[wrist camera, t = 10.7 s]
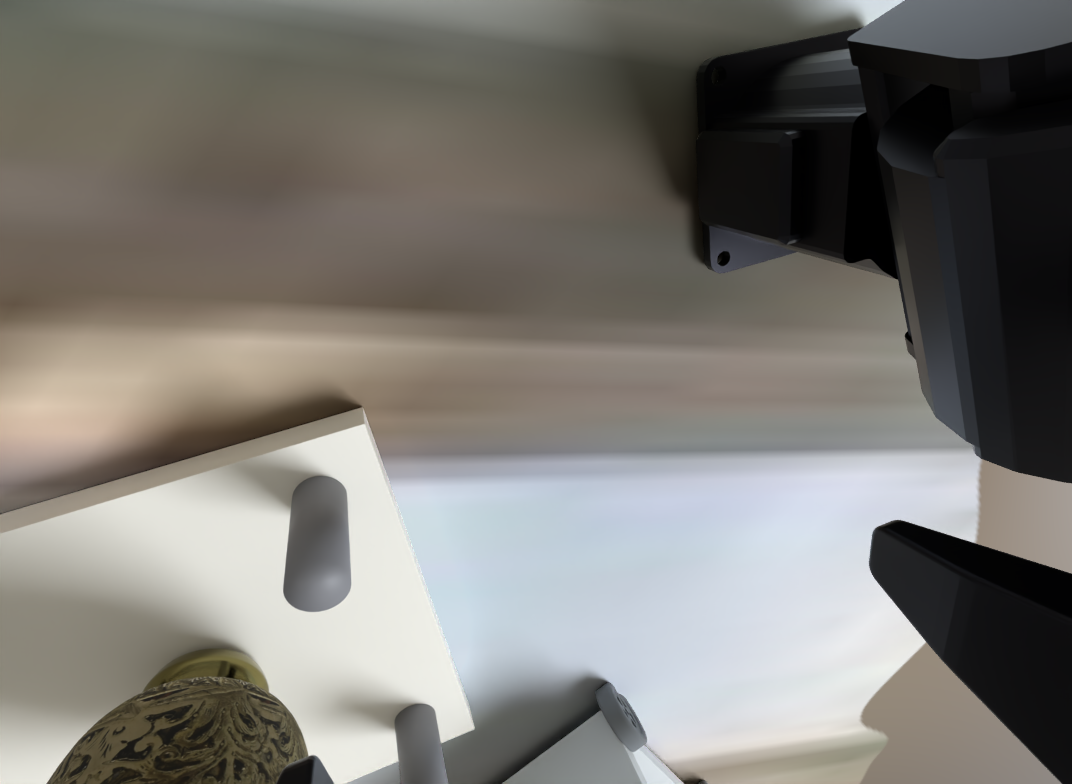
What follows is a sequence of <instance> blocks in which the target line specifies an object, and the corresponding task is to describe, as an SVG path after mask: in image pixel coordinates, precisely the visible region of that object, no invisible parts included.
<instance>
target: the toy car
mask: <svg viewBox="0 0 1072 784" xmlns="http://www.w3.org/2000/svg"><path fill="white" fill-rule="evenodd" d="M596 699H597V702H598V704H599V707H600V709H601V710H600V711H599V712H598V713H596V714H595V715H594V716H592V717H591V718H589V719H588V720H587V721H585V722H584V723H583V724H581V725H580V726H579V727H577V728H576V729H575V730H573V731H572V732H571V733H569V734H568V735H567V736H565V737H564V738H563V739H561V740H560V741H559V742H557V743H556V744H555V745H553V746H552V747H550V748H549V749H548V750H546V751H545V752H544V753H542V754H541V755H540V756H538V757H537V758H536V759H534V760H533V761H532V762H530V763H529V764H528V765H526V766H525V767H524V768H522V769H521V770H520V771H518V772H517V773H516V774H514V775H513V776H511V777H510V778H509V779H507V780H506V781H505V782H503V783H502V784H684V783H683V782H682V781H681V780H680V779H679V778H678V777H677V776H676V775H675V774H674V773H673V772H672V771H671V770H670V769H669V768H668V767H667V766H666V765H665V764H663V763H662V762H661V761H660V760H659V759H658V758H657V757H656V756H655V755H654V754H653V753H652V752H651V751H650V750H649V749H648V748H647V747H646V746H645V744H646V742H647V737H646V734H645V731H644V729H643V727H642V725H641V723H640V721H639V719H638V717H637V716H636V714H635V712H634V711H633V709H632V707H631V706H630V704H629V703H628V701H627V700H626V698H625V697H624V696H622V695H621V694H618V693H617V692H616V690H615V688H614V686H613V685H612V684H611V683H609V682H608V683H606V684H604V685H603V686H602V687H600V688H599V689H598V690H597V691H596ZM698 784H707V782H706V781H705V780H702V781H701V782H699V783H698Z"/></svg>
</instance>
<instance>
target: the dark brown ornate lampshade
mask: <svg viewBox="0 0 1072 784" xmlns="http://www.w3.org/2000/svg"><path fill="white" fill-rule="evenodd" d="M305 757H308V751H307V747H306V744H305V740H304V737H303V734H302V732H301V730H300V728H299V726H298V724H297V722H296V720H295V718H294V717H293V715H292V714H291V712H290V711H289V710H288V709H287V708H286V706H285V705H284V704H283V703H282V702H281V701H280V700H279V699H278V698H277V697H275V696H274V695H272V694H271V693H269V686H268V682H267V679H266V677H265V675H264V673H263V671H262V669H261V667H260V666H259V665H258V664H257V663H256V662H255V661H254V660H253V659H252V658H250V657H249V656H247V655H245V654H243V653H241V652H238V651H235V650H230V649H224V648H208V649H201V650H196V651H193V652H189V653H186V654H184V655H182V656H179V657H177V658H176V659H174V660H172V661H171V662H169V663H168V664H166V665H165V666H164V667H163V668H162V669H161V670H160V671H159V672H158V673H157V674H156V675H155V676H154V677H153V678H152V679H151V680H150V681H149V682H148V684H147V685H146V686H145V688H144V690H143V691H142V693H140V694H138V695H136V696H134V697H132V698H130V699H128V700H127V701H125V702H123V703H122V704H120V705H119V706H118V707H116V708H115V709H113V710H112V711H110V712H109V713H108V714H106V715H105V716H104V717H102V718H101V719H100V720H99V721H98V722H97V723H96V724H94V725H93V726H92V727H91V728H90V729H89V730H88V731H87V732H86V733H85V734H84V735H83V736H82V737H81V738H80V739H79V740H78V741H77V743H76V744H75V745H74V747H73V748H72V749H71V750H70V752H69V753H68V754H67V755H66V757H65V758H64V759H63V761H62V762H61V763H60V765H59V766H58V767H57V769H56V770H55V772H54V773H53V775H52V776H51V778H50V779H49V780H48V782H47V783H46V784H276V782H277V780H278V778H279V775H280V773H281V772H282V770H283V769H284V768H285V767H286V766H287V765H289V764H290V763H293V762H295V761H298V760H300V759H303V758H305Z"/></svg>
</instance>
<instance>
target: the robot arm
mask: <svg viewBox="0 0 1072 784" xmlns="http://www.w3.org/2000/svg"><path fill="white" fill-rule="evenodd" d="M714 69H716V70H717V71H718V75H719V77H718V81H717V83H716V84H715V85H714V84H713V83H712V80H711V75H712V72H713V70H714ZM696 81H697V105H698V128H699V137H698V139H697V141H696V154H697V176H698V198H699V218H700V220H701V221H702V222H703V245H704V261H705V265H706V266H707V268H708V269H710V270H712V271H715V272H717V273H725V272H729V271H732V270H736V269H739V268H743V267H746V266H750V265H753V264H757V263H761V262H764V261H768V260H771V259H775V258H778V257H782V256H785V255H789V254H792V253H796V252H800V253H804V254H807V255H811V256H815V257H818V258H822V259H825V260H829V261H833V262H836V263H840V264H844V265H847V266H851V267H855V268H858V269H862V270H865V271H869V272H873V273H876V274H880V275H884V276H887V277H891V278H895V279H898V281H899V286H900V292H901V297H902V302H903V307H904V313H905V318H906V323H907V328H908V332H907V333H906V334H905V340H906V345H907V350H908V352H909V353H910V354H911V355H912V356H913V357H914V358H915V359H916V362H917V367H918V373H919V378H920V383H921V389H922V392H923V394H924V396H925V398H926V400H927V402H928V404H929V405H930V407H931V409H932V411H933V413H934V415H935V417H936V418H937V419H939V420H940V421H941V422H943V423H944V424H945V425H946V426H948V427H949V428H950V429H951V430H953V431H954V432H955V433H956V434H958V435H959V436H960V437H961V438H963V439H964V440H965V441H967V442H969V443H971V444H973V450H974V452H975V454H976V455H977V456H979V457H980V458H981V459H984V460H987V461H989V462H992V463H994V464H997V465H999V466H1002V467H1004V468H1007V469H1010V470H1012V471H1015V472H1018V473H1023V474H1028V475H1032V476H1037V477H1042V478H1047V479H1051V480H1056V481H1061V482H1066V483H1072V0H905V1H903V2H902V3H900V4H899V5H897V6H896V7H894V8H893V9H891V10H889V11H888V12H886V13H885V14H883V15H882V16H880V17H879V18H877V19H876V20H874V21H873V22H871V23H870V24H868V25H866V26H865V27H863V28H858V29H853V30H848V31H843V32H838V33H833V34H828V35H823V36H818V37H814V38H809V39H804V40H799V41H794V42H789V43H784V44H779V45H774V46H769V47H764V48H759V49H754V50H749V51H744V52H739V53H734V54H730V55H725V56H720V57H715V58H710V59H708V60H706V61H704V62H703V64H702V65H701V66H700V68H699V70H698V72H697V80H696ZM721 252H723V254H724V255H723V259H722V260H721V262H719V263H718V262H717V258H718V255H719V254H720V253H721ZM869 567H870V570H871V573H872V575H873V577H874V578H875V580H876V581H877V582H878V583H879V585H880V586H881V587H882V588H883V590H884V591H885V592H886V593H887V594H888V596H889V597H890V598H891V599H892V601H893V602H894V603H895V604H896V605H897V607H898V608H899V609H900V610H901V612H902V613H903V614H904V615H905V616H906V618H907V619H908V620H909V621H910V623H911V624H912V625H913V626H914V627H915V629H916V630H917V631H918V632H919V634H920V635H921V636H922V637H923V638H924V640H925V641H926V642H927V643H928V644H929V646H930V647H931V648H932V649H933V650H934V652H935V653H936V654H937V655H938V656H939V657H940V658H941V660H942V661H943V662H944V663H945V664H946V665H947V666H948V667H949V668H950V669H951V670H952V671H953V673H955V674H956V676H957V677H958V678H959V679H960V680H961V681H962V682H963V683H964V684H965V685H966V686H967V687H968V688H969V689H970V690H971V691H972V692H973V693H974V694H975V695H976V696H977V697H978V698H979V699H980V700H981V701H982V702H983V703H984V704H985V705H986V706H987V708H988V709H989V710H990V711H991V712H992V713H993V714H994V715H995V716H996V717H997V718H998V719H999V720H1000V721H1001V722H1002V723H1003V724H1004V725H1005V726H1006V727H1007V728H1008V729H1009V730H1010V731H1011V732H1012V733H1013V734H1014V735H1015V736H1016V737H1017V738H1018V739H1019V740H1020V741H1021V742H1022V743H1023V744H1024V746H1025V747H1026V748H1028V750H1029V751H1030V752H1031V753H1032V754H1033V755H1034V756H1035V757H1036V758H1037V759H1038V760H1039V761H1040V762H1041V763H1042V764H1043V765H1044V766H1045V767H1046V768H1047V769H1048V770H1049V771H1050V772H1051V773H1052V774H1053V775H1054V776H1055V777H1056V778H1057V779H1058V780H1059V781H1060V782H1061V783H1062V784H1072V574H1071V573H1068V572H1064V571H1061V570H1058V569H1055V568H1052V567H1049V566H1046V565H1042V564H1039V563H1036V562H1033V561H1030V560H1026V559H1023V558H1020V557H1016V556H1014V555H1011V554H1007V553H1004V552H1001V551H998V550H995V549H991V548H988V547H985V546H982V545H978V544H976V543H972V542H969V541H966V540H963V539H960V538H957V537H953V536H950V535H947V534H944V533H941V532H937V531H934V530H931V529H928V528H925V527H922V526H918V525H915V524H912V523H909V522H906V521H901V520H894V521H891V522H888V523H886V524H883V525H881V526H878V527H877V528H875V530H874V531H873V534H872V541H871V549H870V558H869ZM276 784H334V782H333V781H332V779H331V777H330V776H329V774H328V772H327V770H326V769H325V767H324V765H323V764H322V762H321V760H320V759H319V758H318V757H317V756H315V755H310V756H308V757H305V758H303V759H300V760H298V761H295V762H293V763H290V764H289V765H287V766H286V767H285V768H284V769H283V770H282V772H281V773H280V775H279V778H278V780H277V782H276Z"/></svg>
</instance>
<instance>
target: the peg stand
mask: <svg viewBox="0 0 1072 784" xmlns="http://www.w3.org/2000/svg"><path fill="white" fill-rule="evenodd" d="M208 648H224V649H230V650H235V651H238V652H241V653H243V654H245V655H247V656H249V657H250V658H252V659H253V660H254V661H255V662H256V663H257V664H258V665H259V666H260V667H261V669H262V671H263V673H264V675H265V677H266V679H267V682H268V686H269V693H271V694H272V695H274V696H275V697H277V698H278V699H279V700H280V701H281V702H282V703H283V704H284V705H285V706H286V708H287V709H288V710H289V711H290V712H291V714H292V715H293V717H294V718H295V720H296V722H297V724H298V726H299V728H300V730H301V732H302V734H303V737H304V740H305V744H306V747H307V751H308V756H310V755H315V756H317V757H318V758H319V759H320V760H321V762H322V764H323V765H324V767H325V769H326V770H327V772H328V774H329V776H330V777H331V779H332V781H333V782H334V784H345V783H348V782H350V781H353V780H355V779H357V778H360V777H362V776H365V775H367V774H369V773H372V772H374V771H376V770H379V769H381V768H384V767H386V766H388V765H391V764H393V763H395V762H398V761H399V770H400V779H401V784H448V779H447V774H446V768H445V763H444V757H443V751H442V746H441V743H443V742H445V741H448V740H450V739H453V738H455V737H457V736H460V735H462V734H465V733H467V732H469V731H472V730H474V729H475V727H474V723H473V719H472V715H471V710H470V706H469V703H468V700H467V697H466V694H465V692H464V689H463V686H462V683H461V681H460V678H459V675H458V672H457V669H456V667H455V664H454V661H453V658H452V655H451V653H450V650H449V647H448V644H447V641H446V639H445V636H444V633H443V630H442V627H441V625H440V622H439V619H438V616H437V613H436V611H435V608H434V605H433V602H432V599H431V597H430V594H429V591H428V588H427V585H426V583H425V580H424V577H423V574H422V572H421V569H420V566H419V563H418V560H417V558H416V555H415V552H414V549H413V546H412V544H411V541H410V538H409V535H408V532H407V530H406V527H405V524H404V521H403V518H402V516H401V513H400V510H399V507H398V504H397V502H396V499H395V496H394V493H393V490H392V488H391V485H390V482H389V479H388V476H387V474H386V471H385V468H384V465H383V463H382V460H381V457H380V454H379V451H378V449H377V446H376V443H375V440H374V437H373V435H372V432H371V429H370V426H369V423H368V421H367V418H366V415H365V412H364V409H363V407H361V408H358V409H354V410H351V411H348V412H344V413H341V414H338V415H334V416H331V417H327V418H324V419H321V420H317V421H314V422H311V423H307V424H304V425H300V426H297V427H294V428H290V429H287V430H283V431H280V432H277V433H273V434H270V435H267V436H263V437H260V438H256V439H253V440H250V441H246V442H243V443H240V444H236V445H233V446H229V447H226V448H223V449H219V450H216V451H213V452H209V453H206V454H202V455H199V456H196V457H192V458H189V459H185V460H182V461H179V462H175V463H172V464H169V465H165V466H162V467H158V468H155V469H152V470H148V471H145V472H142V473H138V474H135V475H131V476H128V477H125V478H121V479H118V480H114V481H111V482H108V483H104V484H101V485H98V486H94V487H91V488H87V489H84V490H81V491H77V492H74V493H71V494H67V495H64V496H60V497H57V498H54V499H50V500H47V501H44V502H40V503H37V504H33V505H30V506H27V507H23V508H20V509H16V510H13V511H10V512H6V513H3V514H0V784H46V783H47V782H48V780H49V779H50V778H51V776H52V775H53V773H54V772H55V770H56V769H57V767H58V766H59V765H60V763H61V762H62V761H63V759H64V758H65V757H66V755H67V754H68V753H69V752H70V750H71V749H72V748H73V747H74V745H75V744H76V743H77V741H78V740H79V739H80V738H81V737H82V736H83V735H84V734H85V733H86V732H87V731H88V730H89V729H90V728H91V727H92V726H93V725H94V724H96V723H97V722H98V721H99V720H100V719H101V718H102V717H104V716H105V715H106V714H108V713H109V712H110V711H112V710H113V709H115V708H116V707H118V706H119V705H120V704H122V703H123V702H125V701H127V700H128V699H130V698H132V697H134V696H136V695H138V694H140V693H142V691H143V690H144V688H145V686H146V685H147V684H148V682H149V681H150V680H151V679H152V678H153V677H154V676H155V675H156V674H157V673H158V672H159V671H160V670H161V669H162V668H163V667H164V666H165V665H166V664H168V663H169V662H171V661H172V660H174V659H176V658H177V657H179V656H182V655H184V654H186V653H189V652H193V651H196V650H201V649H208Z"/></svg>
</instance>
